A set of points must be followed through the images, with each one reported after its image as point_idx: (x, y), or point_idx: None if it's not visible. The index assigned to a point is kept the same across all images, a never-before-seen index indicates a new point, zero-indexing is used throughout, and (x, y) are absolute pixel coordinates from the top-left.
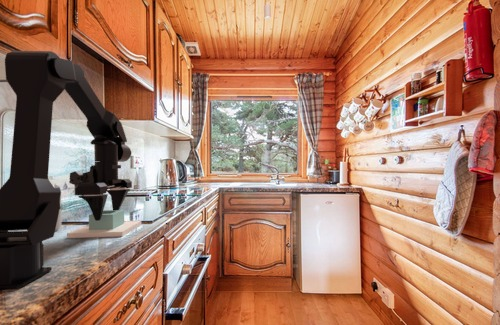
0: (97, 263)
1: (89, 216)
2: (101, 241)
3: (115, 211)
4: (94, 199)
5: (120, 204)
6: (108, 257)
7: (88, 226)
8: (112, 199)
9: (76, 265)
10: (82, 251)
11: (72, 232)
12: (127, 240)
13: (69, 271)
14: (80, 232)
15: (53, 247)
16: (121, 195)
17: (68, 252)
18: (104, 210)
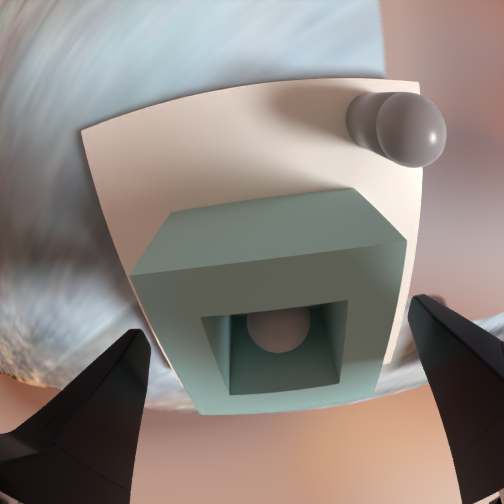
0: (37, 381)
1: (137, 274)
2: (111, 334)
3: (341, 372)
4: (57, 478)
5: (433, 391)
6: (58, 389)
7: (271, 124)
8: (492, 380)
9: (13, 356)
10: (39, 329)
11: (101, 147)
12: (153, 393)
13: (4, 356)
14: (110, 206)
15: (9, 206)
16: (464, 459)
17: (17, 298)
18: (399, 269)
